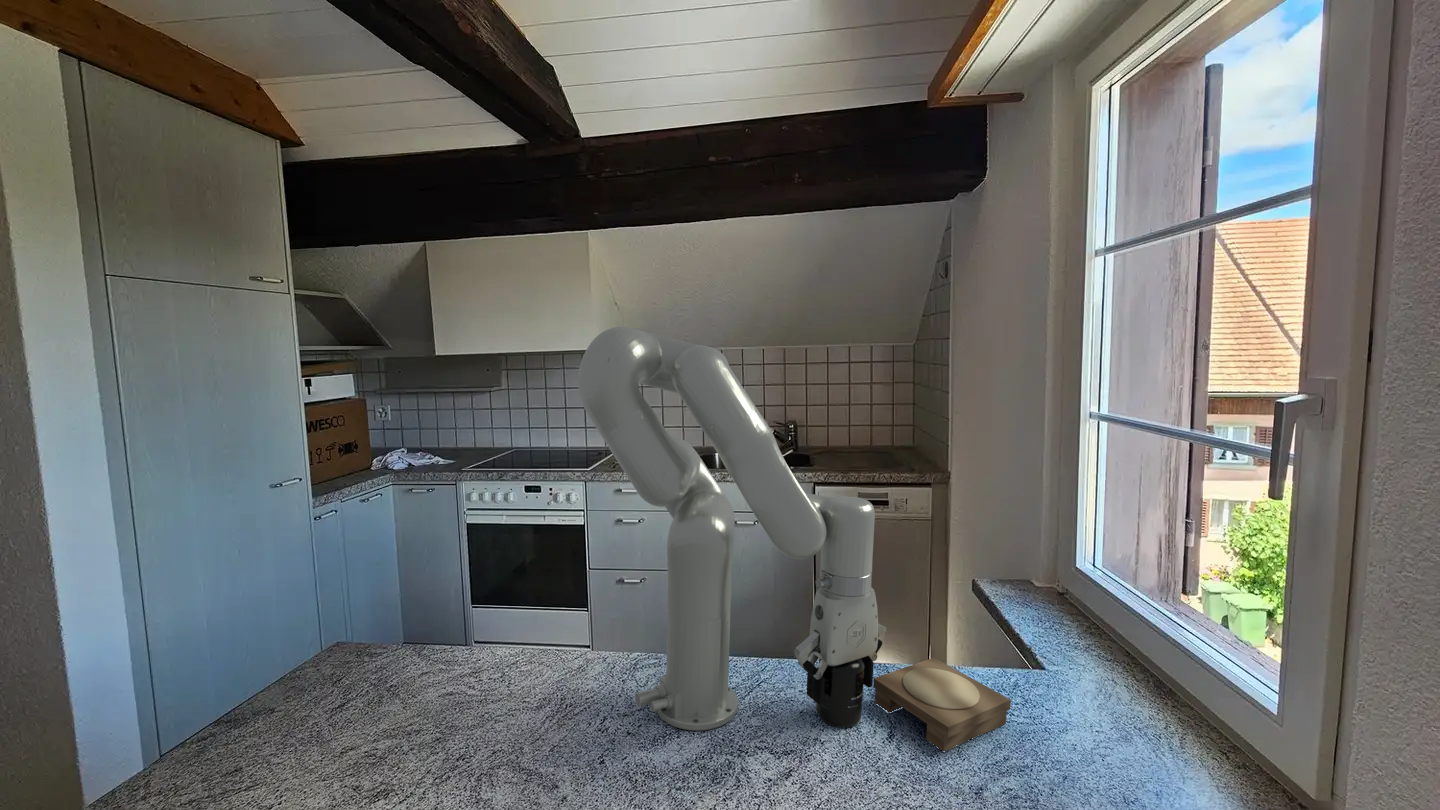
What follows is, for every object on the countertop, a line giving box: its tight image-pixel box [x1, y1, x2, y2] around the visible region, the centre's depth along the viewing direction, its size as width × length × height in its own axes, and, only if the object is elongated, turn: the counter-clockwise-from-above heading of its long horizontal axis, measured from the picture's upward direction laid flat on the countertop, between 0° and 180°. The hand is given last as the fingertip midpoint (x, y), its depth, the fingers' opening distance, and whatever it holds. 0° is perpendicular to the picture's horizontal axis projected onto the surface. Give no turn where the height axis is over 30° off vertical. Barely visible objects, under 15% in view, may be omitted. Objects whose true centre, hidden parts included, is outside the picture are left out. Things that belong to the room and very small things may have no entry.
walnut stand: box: [872, 657, 1012, 752], centre depth 91 cm, size 14×14×4 cm
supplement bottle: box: [815, 658, 865, 728], centre depth 89 cm, size 7×7×12 cm
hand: (839, 691), depth 89 cm, fingers open, 9 cm apart
